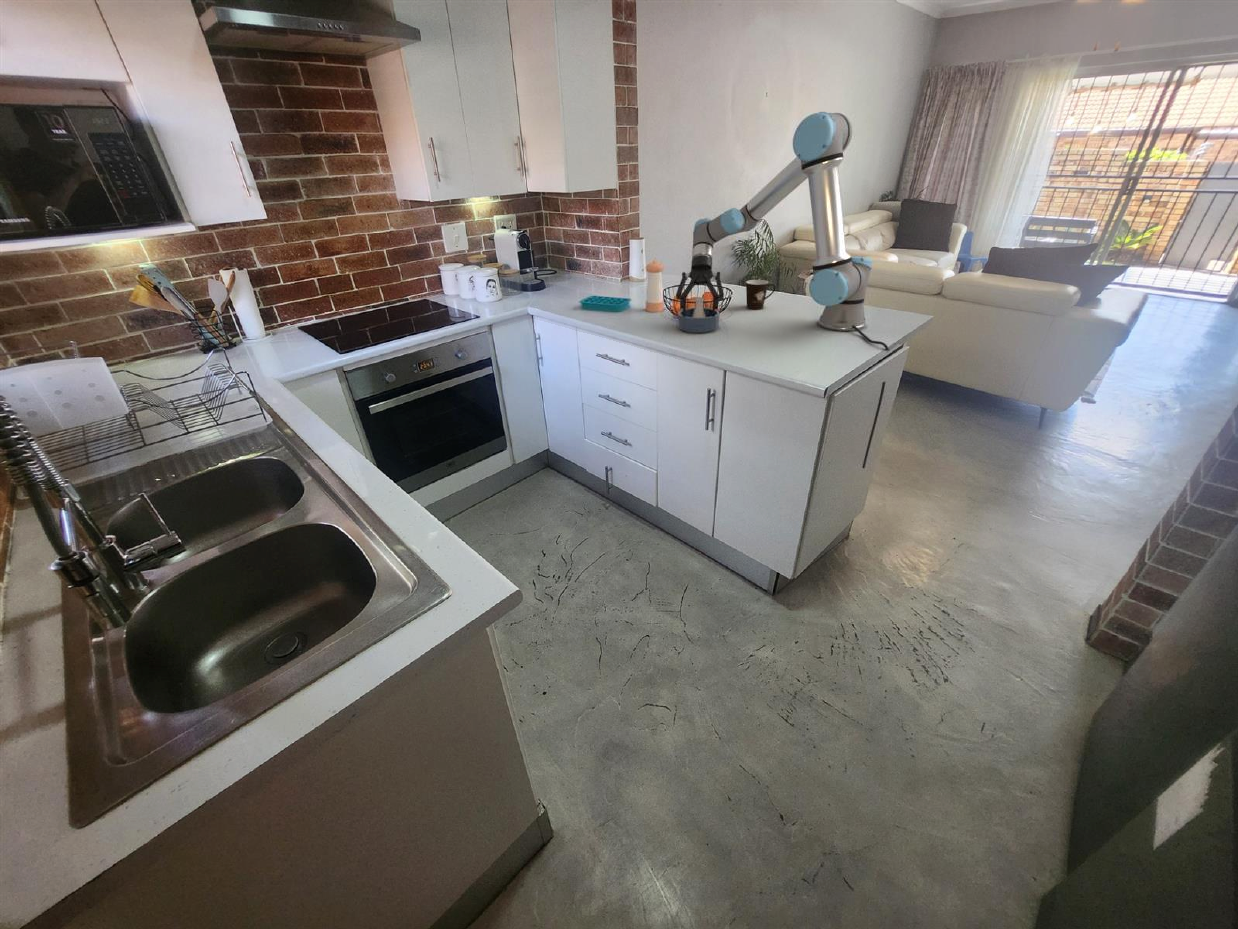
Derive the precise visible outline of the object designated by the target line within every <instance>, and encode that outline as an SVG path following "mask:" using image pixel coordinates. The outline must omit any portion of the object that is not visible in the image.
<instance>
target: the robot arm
mask: <svg viewBox="0 0 1238 929" xmlns="http://www.w3.org/2000/svg"><path fill="white" fill-rule="evenodd" d="M852 136H853V126H852V122H851V121H850V118H848V116H846V115H845V114H843V113H840V112H827V111H818V112H814V113H811V114H809V115H807V116H806V117H805V118H803V120H801V121H800V122H799V124H798V125H797V127H796V129H795V132H794V134H793V138H792V150H793V152H794V155H795V157H794V159H793V160H791V161H790V162H789V163H788V164H787V165H786V166H785V167H783V169H781V171H780V172H779V173H777V174H776V175H775V176H774V177H773V178H772V179H771V180H770V181H769V182H768V183H767V184H766V185H765V186H764V187H762V188H761V189H760V190H759V191H758V192H757V194H755V195H754V196H753V197H752V198H751V199H750V200H749V201H748V202H747V203H745V205H743V207H741V208H740V209H738V208H736V207H733V208H730V209H728V210H725V211H724V212H722V213H720V214H719V215H718V216H715V218H712V219H710V218H708V217H704V218H700V219H698V220H697V221H695V224H694V225H693V226H694V227H693V232H692V251H691V265H690V271H689V272H685V271H682V272H681V280H680V283H679V285H678V288H677V289H676V290H677V291H676V293H675V299H676V300H678V301H680V304H679V307H680V309H682V310H683V316H685V312H686V309H687V298H688V296H689V294H690V293H691V291H692V290H693V289H694V288H695V286H700V285H701V286H704V285H705V286H706V287H707V289H708V291H709V292H710V293H711V295H712V297H713V299H712V309H713V310H712V316H714V314H715V310H717V309H719V301H721V300H724V298H725V293H724V289H723V285H722V281H721V272H720V271H717V272H713V256H714V245H715V244H716V243H718V242H720V241H721V240H723V239H725V238H727V237H729V236H734V235H737V234H741V233H745V232H751V231H752V230H754V229H755V228H756V227H757V226H758V223H759V221H760V220H762V218H764V217H765V216H766V215H767V214H768V213H770V212H771V211H772V210H774V208H776V206H777V205H779V204H780V203H781V202H782V201H783V200H785V198H787V197H788V196H789V195H790V194H791V193H793V192H794V191H795V190H796V189H797V188H798V187H800V185H802V184H803V183H804V182H805V181H806V180H808V190H809V198H810V199H809V200H810V207H811V217H812V218H811V219H812V225H813V236H814V247H815V256H816V259H815V261H814V262H813V263H812V274H813V276H812V277H811V279H810V281H809V284H808V290H809V295H810V297H811V298H812V300H813V301H814V302H816V304H818V305H820V306H823V307H824V309H823V312H822V313H821V315H820V316H819V319H818V326H819V327H821V328H823V329H826V330H831V331H838V332H854V331H856V332H857V333H858V334H860V335H861V336H862V337H863V338H864V339H865V340H866V341H867V342H869V343H871V344H877V345H881V346H883V347H884V348H885V350H886V351H888V352H889V351H890V349H889V346H888V345H887V343H885V342H883V341H879V340H872V339H871V338H869V337H868V336H867V335H866V334H865V333H864V332H862V329H864V328H865V326H866V318H865V317H866V316H865V306H864V304H865V298H866V293H867V288H868V284H869V279H870V275H871V270H872V265H873V264H872V263H873V261H872V259H871V258H870V257H867V256H864V257H863V256H857V255H855V256H853V255H852V254H850V253H849V252H847V250H846V238H845V226H844V213H843V205H842V204H843V203H842V193H841V181H840V168H839V167H840V165H841V163H843V161H844V152H845V150H846V149H847V148H848V146H849V145H850V143H851V141H852ZM689 278H690V281H689V283H688V285H686V282H687V280H689ZM711 279H714V280H715V283H716V287H717V290H716V288H715V287H714V284H713V283H712V281H711ZM685 285H686V287H685ZM684 288H685V289H684ZM881 383H882V384H881V389H880V395H879V397H878V398H879V399H878V403H877V408H876V410H875V415H874V418H873V419H874V420H873V423H872V427H871V431H870V433H869V434H870V435H869V437H868V438H869V439H868V443H867V447H866V450H865V454H864V459H863V463H862V466H861V468H862V469H865V468H866V465H867V464H866V463H867V460H868V456H869V452H870V448H871V444H872V440H873V436H874V433H875V428H876V425H877V422H878V418H879V414H880V410H881V405H882V401H883V397H884V392H885V387H886V381H883V382H881Z"/></svg>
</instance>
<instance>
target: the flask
mask: <svg viewBox="0 0 1238 929" xmlns="http://www.w3.org/2000/svg"><path fill="white" fill-rule="evenodd" d="M704 300H705V298H704V297H700V296H699V297H695V298H694V301H695V302H694V303H695V304H694V308H695V309H694V312H693V315H692V317H691V318H706V317H705V313H704V309H703V308H704Z"/></svg>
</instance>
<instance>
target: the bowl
mask: <svg viewBox="0 0 1238 929" xmlns="http://www.w3.org/2000/svg"><path fill="white" fill-rule="evenodd" d="M694 309H695V307H689V308H686V312H685V316H683V309H681V310H680V311H678V313H677V327H678V329H679V330H681V331H683V332H686V333H690V334H705V333H710V332H713V331H715V330H717V329H719V327H720V326H719V325H720V314H721V313H720V311H719V310H717V309H715V314H714V316H712V310H713V308H710V307H703V309H704V313H705V317H706V318H691V317H692V315H693V312H694Z"/></svg>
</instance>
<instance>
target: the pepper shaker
mask: <svg viewBox="0 0 1238 929" xmlns="http://www.w3.org/2000/svg"><path fill="white" fill-rule="evenodd" d="M664 269H665V268H664V264H663V263H661V262H657V260H653V261H652V262H649V263H648V264H646V267H645V270H646V272H647V288H646V300H645V310H646V311H647V312H649V313H659V312H663V311H664V310H665V307H664V306H665V302H664V289H663V284H662V283H663V282H662V275H663V274H662V272H663V271H664Z"/></svg>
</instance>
